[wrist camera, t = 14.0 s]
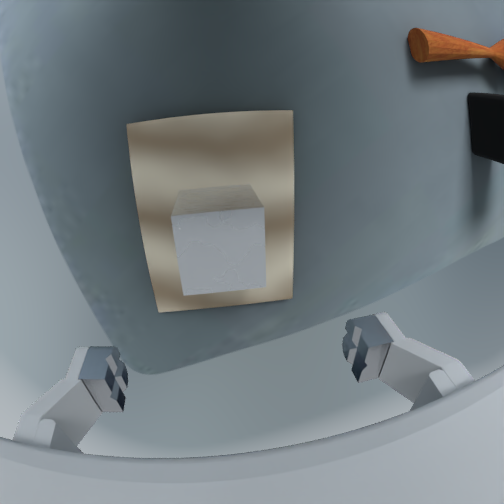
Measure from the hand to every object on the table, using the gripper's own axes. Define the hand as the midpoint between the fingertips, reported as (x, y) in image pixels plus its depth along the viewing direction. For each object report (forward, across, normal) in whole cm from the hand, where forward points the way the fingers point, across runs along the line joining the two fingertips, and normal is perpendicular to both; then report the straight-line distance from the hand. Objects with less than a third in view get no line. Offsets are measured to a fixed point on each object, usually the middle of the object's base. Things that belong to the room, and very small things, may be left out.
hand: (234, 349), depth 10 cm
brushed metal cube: (+14, 0, +1) cm, 15 cm away
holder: (+16, 0, +1) cm, 16 cm away
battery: (+16, -28, -8) cm, 33 cm away
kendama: (+16, -27, -16) cm, 36 cm away
